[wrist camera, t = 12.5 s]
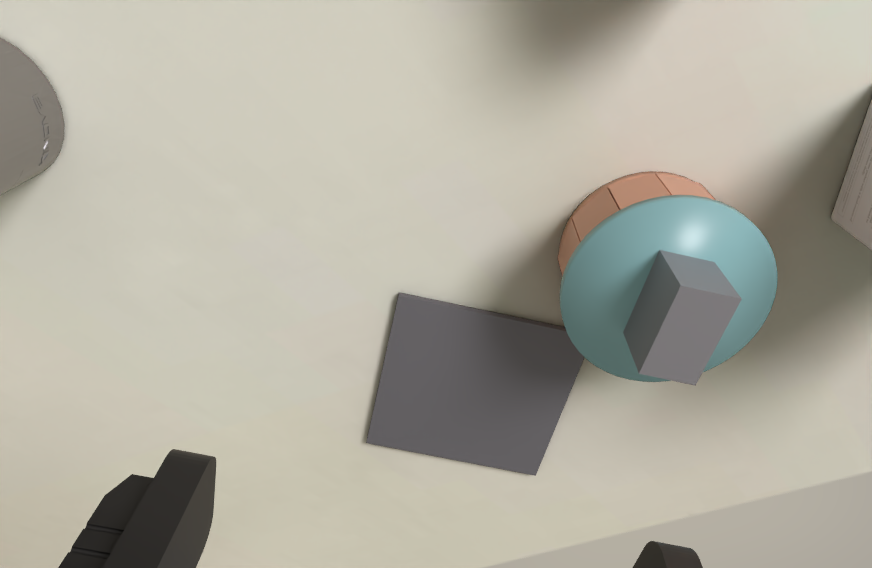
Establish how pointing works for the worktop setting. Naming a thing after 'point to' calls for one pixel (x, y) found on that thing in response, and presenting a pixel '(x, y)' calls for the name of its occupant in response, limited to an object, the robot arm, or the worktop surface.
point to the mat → (472, 384)
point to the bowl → (621, 203)
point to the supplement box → (858, 189)
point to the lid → (668, 288)
